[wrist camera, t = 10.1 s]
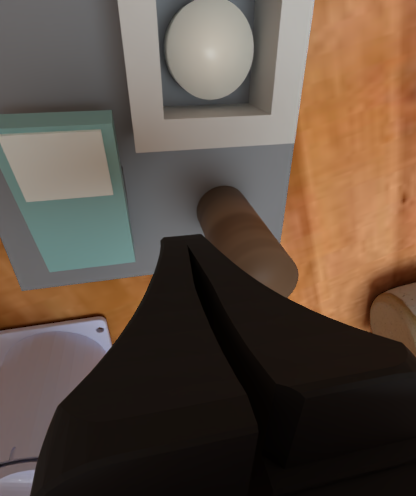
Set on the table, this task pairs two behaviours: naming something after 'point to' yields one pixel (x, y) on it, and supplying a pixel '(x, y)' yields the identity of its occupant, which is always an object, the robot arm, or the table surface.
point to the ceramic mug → (396, 315)
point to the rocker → (68, 186)
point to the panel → (153, 115)
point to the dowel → (246, 239)
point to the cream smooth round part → (209, 48)
